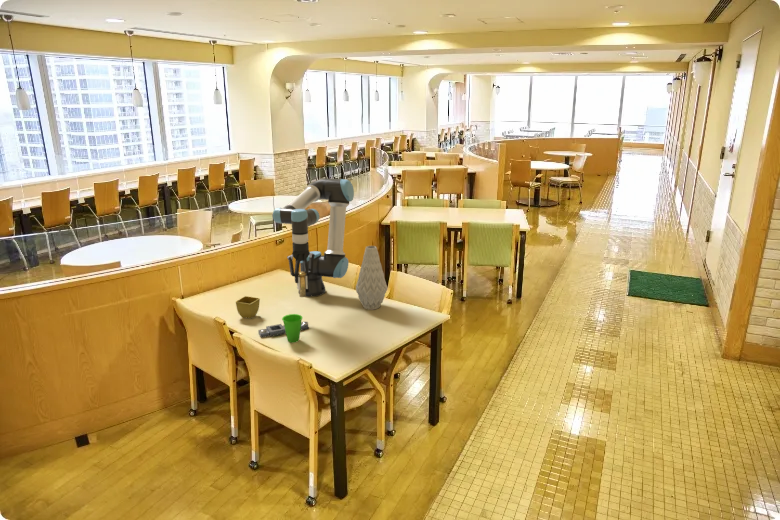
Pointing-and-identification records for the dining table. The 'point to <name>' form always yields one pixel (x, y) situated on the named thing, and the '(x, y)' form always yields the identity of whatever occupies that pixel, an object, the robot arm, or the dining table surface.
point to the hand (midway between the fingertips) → (302, 288)
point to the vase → (371, 280)
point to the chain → (278, 330)
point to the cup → (292, 327)
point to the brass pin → (302, 284)
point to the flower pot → (248, 306)
